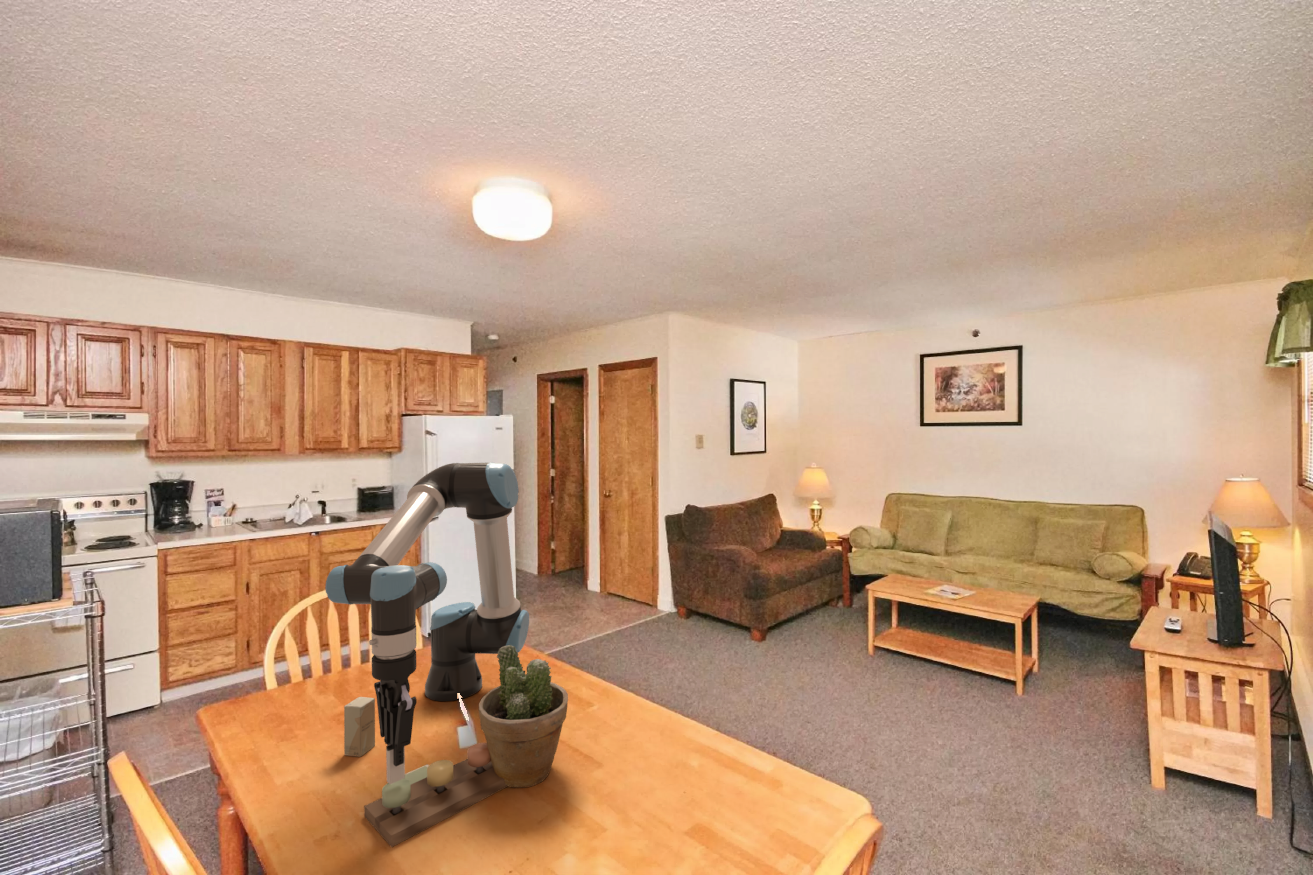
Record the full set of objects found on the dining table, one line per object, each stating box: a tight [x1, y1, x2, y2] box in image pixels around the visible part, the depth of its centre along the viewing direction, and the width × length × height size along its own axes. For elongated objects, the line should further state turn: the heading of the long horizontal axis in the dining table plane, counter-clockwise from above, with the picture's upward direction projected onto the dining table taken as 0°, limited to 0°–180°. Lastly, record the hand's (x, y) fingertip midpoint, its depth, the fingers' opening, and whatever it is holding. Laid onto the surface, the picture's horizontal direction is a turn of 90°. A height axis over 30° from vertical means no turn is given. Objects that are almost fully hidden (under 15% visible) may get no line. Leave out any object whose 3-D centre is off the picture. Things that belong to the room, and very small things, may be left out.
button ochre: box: [427, 759, 454, 792], centre depth 114 cm, size 5×5×5 cm
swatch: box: [404, 763, 430, 785], centre depth 120 cm, size 7×7×1 cm
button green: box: [381, 779, 411, 814], centre depth 108 cm, size 5×5×5 cm
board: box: [363, 758, 508, 848], centre depth 114 cm, size 24×12×2 cm, turn 137°
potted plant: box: [478, 645, 569, 788], centre depth 122 cm, size 18×19×25 cm
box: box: [343, 696, 376, 757], centre depth 132 cm, size 5×4×11 cm
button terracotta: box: [466, 742, 491, 773], centre depth 120 cm, size 5×5×5 cm
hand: (395, 779), depth 107 cm, fingers closed
